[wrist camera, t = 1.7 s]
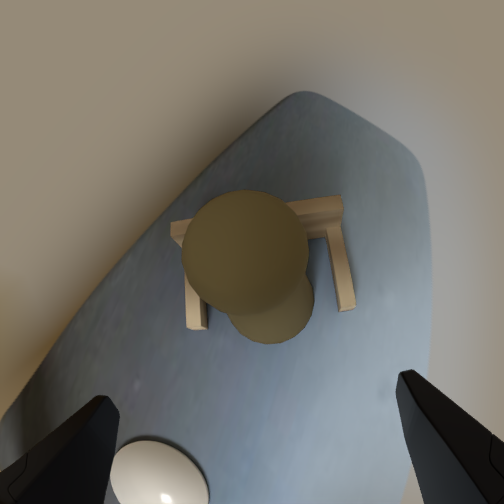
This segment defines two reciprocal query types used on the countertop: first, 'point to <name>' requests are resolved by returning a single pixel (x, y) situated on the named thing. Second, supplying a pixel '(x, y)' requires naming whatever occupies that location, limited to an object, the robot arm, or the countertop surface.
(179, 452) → the saucer
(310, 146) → the countertop surface
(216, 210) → the cork
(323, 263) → the countertop surface
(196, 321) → the holder
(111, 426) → the robot arm
